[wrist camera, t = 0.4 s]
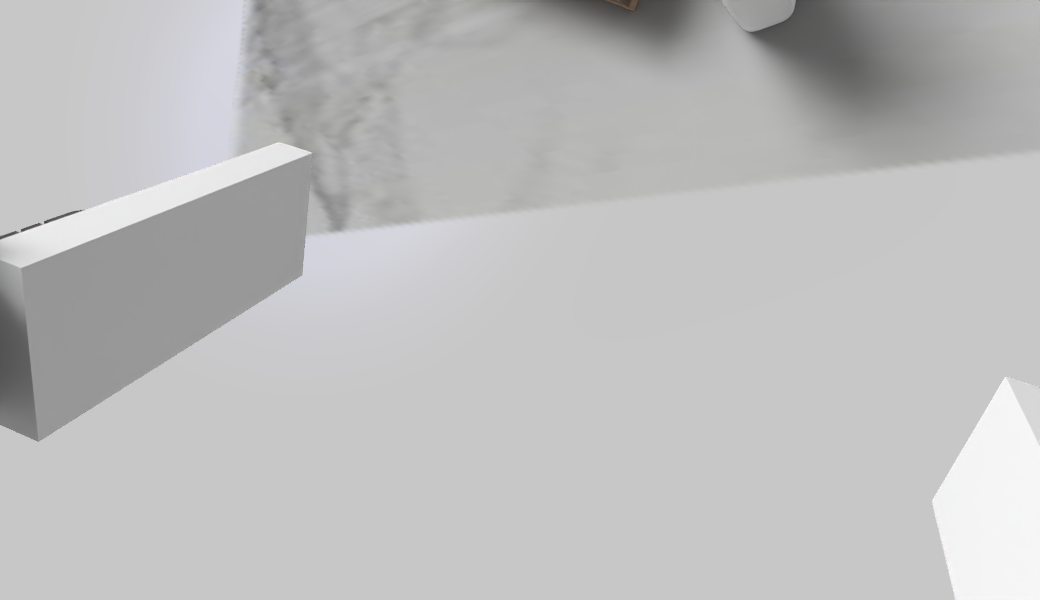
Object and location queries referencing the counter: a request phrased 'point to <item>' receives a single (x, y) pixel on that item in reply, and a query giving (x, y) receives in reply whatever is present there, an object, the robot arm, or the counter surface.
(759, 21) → the eye dropper bottle
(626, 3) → the walnut socket block
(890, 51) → the counter surface
